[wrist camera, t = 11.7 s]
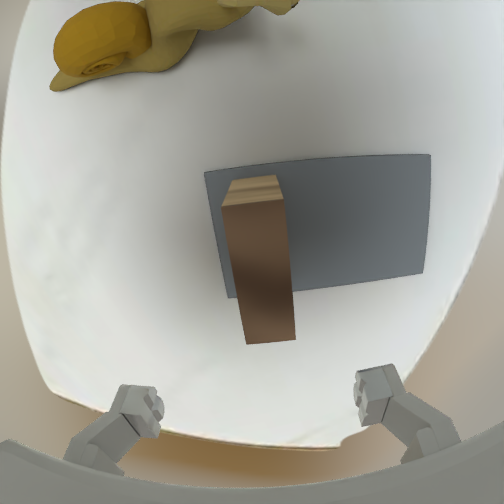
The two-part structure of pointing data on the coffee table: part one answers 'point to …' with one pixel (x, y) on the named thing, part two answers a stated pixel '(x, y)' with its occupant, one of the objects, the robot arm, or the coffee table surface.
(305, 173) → the mat
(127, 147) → the coffee table surface
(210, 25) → the toy
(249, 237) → the slab
